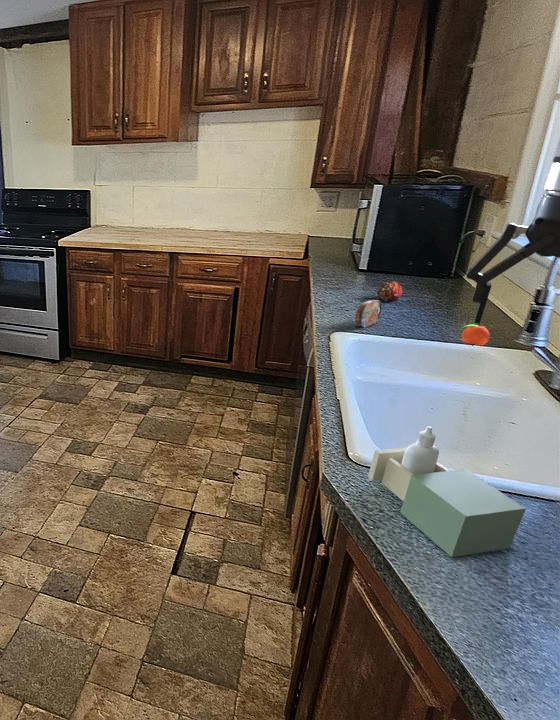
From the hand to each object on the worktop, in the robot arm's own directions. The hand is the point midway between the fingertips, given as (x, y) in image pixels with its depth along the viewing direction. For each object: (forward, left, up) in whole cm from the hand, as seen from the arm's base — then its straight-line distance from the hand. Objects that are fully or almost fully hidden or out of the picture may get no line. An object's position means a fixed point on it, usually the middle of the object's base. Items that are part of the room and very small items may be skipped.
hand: (527, 329), depth 86 cm
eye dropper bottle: (+14, +1, -29) cm, 32 cm away
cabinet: (+14, +10, -31) cm, 35 cm away
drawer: (+14, 0, -30) cm, 33 cm away
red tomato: (-64, -63, -31) cm, 95 cm away
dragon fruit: (-76, -115, -31) cm, 141 cm away
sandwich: (-45, -88, -31) cm, 104 cm away
